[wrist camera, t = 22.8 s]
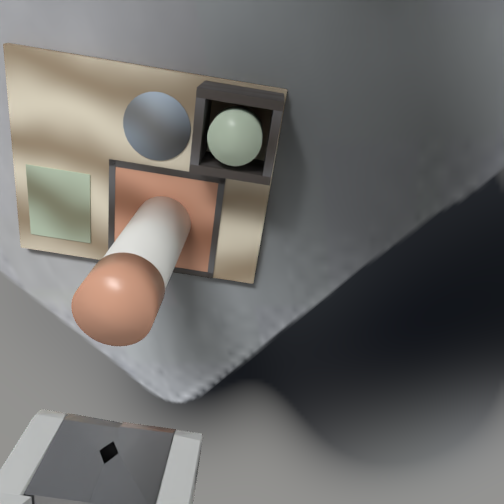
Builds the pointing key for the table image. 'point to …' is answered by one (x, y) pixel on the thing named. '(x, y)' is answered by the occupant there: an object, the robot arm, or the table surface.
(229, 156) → the button
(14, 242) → the table surface
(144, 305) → the marker
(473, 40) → the table surface
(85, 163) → the picture board
